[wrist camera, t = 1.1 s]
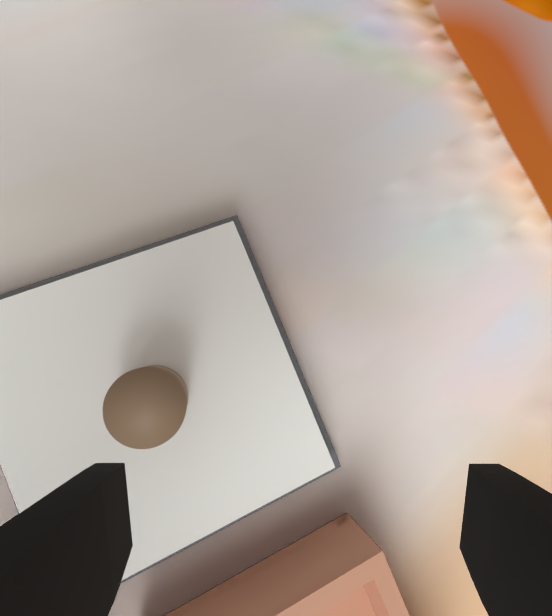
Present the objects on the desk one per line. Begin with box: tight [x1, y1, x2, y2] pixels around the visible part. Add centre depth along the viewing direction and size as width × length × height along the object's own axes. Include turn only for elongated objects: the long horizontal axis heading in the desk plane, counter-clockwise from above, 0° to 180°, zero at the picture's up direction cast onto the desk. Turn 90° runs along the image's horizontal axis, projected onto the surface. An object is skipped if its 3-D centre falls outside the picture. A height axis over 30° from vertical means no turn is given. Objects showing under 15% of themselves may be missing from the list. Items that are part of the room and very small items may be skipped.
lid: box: [0, 221, 335, 581], centre depth 16 cm, size 13×13×4 cm
